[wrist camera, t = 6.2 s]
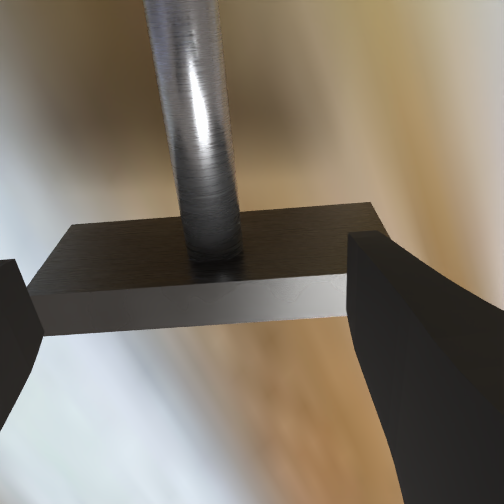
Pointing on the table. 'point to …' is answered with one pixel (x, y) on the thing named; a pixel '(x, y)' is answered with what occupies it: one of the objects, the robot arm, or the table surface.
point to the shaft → (198, 220)
